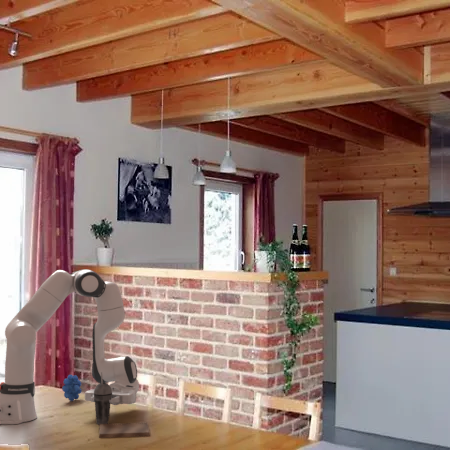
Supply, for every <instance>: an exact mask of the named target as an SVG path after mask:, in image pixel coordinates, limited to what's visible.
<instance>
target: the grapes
mask: <svg viewBox="0 0 450 450" xmlns="http://www.w3.org/2000/svg"><path fill="white" fill-rule="evenodd" d="M81 386H82V382H81V380H80V379H79V377H78V376H77V374H76V375H73V374H68V375H67V378H64V379H63V386H62V388H61V390H62V392H64V393H63V396H64V398H65V399H68V401H69V402H73V401H74V400H78V399H79V397H80V395H79V394H81V393H82V390H83V389H82V388H81Z"/></svg>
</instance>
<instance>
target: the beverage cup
mask: <svg viewBox="0 0 450 450" xmlns="http://www.w3.org/2000/svg"><path fill="white" fill-rule="evenodd" d="M109 385H110V384H108V383H103V378H102V372H101V383H98V384H97V385H96V386H95V388H94V389H95V390H94V399H95V402H94V408H95V411H94V412H95V422H96V425H98V426H100V424H109V419H110V411H111V404H110V403H109V399H110V398H111V397H112V389H111V387H110V386H109Z"/></svg>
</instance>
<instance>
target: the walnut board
mask: <svg viewBox="0 0 450 450" xmlns="http://www.w3.org/2000/svg"><path fill="white" fill-rule="evenodd" d="M98 429H99V432H98V433H99V434H98V435H99V436H98V438H122V437H123V438H124V437H125V438H126V437H127V438H128V437H129V438H130V437H149V436H150V429H149V424H148V422H126V423H125V422H124V423H123V422H122V423H121V422H120V423H119V422H118V423H108V424H100V425H99V428H98Z"/></svg>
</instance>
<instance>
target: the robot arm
mask: <svg viewBox="0 0 450 450" xmlns="http://www.w3.org/2000/svg"><path fill="white" fill-rule="evenodd" d="M72 293H75V294H77V295H79V296H82V297H86V298H93V299H94V301H95V303H96V310H97V318H96V322H95V323H94V324H93V326H92V340H91V341H92V342H91V343H92V366H91V377H92V379H93V380H94V381H95V382H97V383H98V384H100V383H101V372H102V378H103V383H106V384H108V383H110V384H108V385H109V386H110V387H111V389H112V397H111V398H110V399H109V403H110V405H114V406H118V405H122V404H124V405H126V404H127V405H131V404H135V403H136V402H137V393H138V391H139V389H140V382H139V380H138V379H137V378H138V369H137V368H138V367H137V365H136V362H135V361H134V360H133V358H132V357H130V356H129V355H128V356H119V357H113V358H106V356H105V339H106V337H107V335H108V334H109V333H111V332H112V331H115V330H116V329H117V328H119V327H120V326H121V325H122V324H123V323H124V321H125V317H126V311H125V307H124V305H125V304H124V301H123V297H122V294H121V290H120V288H119V286H118V284H117V283H116V282H113V281H104V280H103V278H102V277H101V275H99V274H98V272H95V271H93V270H91V269H87V268H86V269H79V270H76V271H73V272H72V273H69V272H68V271H65V270H63V269H57V270H56V271H54V272H53V273H52V274H50V275H49V277H47V279H45V280H44V282H42V284H41V285H40V287H39V288H38V289H37V290H36V291H35V293H34V294H33V295H32V296H31V297H30V299H29V300H28V301H27V303H26V304H25V305H24V306H23V307H22V308H21V309H20V310H18V312H17V313H16V314H15V315H14V317H13V318H12V319H11V320H10V322H9V323H8V324H7V326H6V327H5V330H4V336H5V338H6V350H5V360H4V361H5V363H4V364H5V365H4V382H3V381H2V382H0V425H18V424H21V423H26V422H30V421H33V420H35V419H37V418H38V416H37V411H36V410H37V409H36V406H35V405H36V404H35V394H36V385H35V381H34V378H35V376H34V375H35V373H34V372H35V358H36V356H35V355H36V346H37V345H36V343H37V342H36V341H37V332H38V331H39V330H40V329H41V328H42V327H43V326H44V325H45V324H46V323H47V322H48V321H49V320H50V319H51V318H52V316H53V315H55V313H56V311H58V309H59V308H60V306H61V305H62V304H63V302H64V301H65V299H66V298H68V296H69V295H71V294H72ZM112 382H113V383H112ZM94 390H95V388H91V389H88V390H86V391H85V392H84V401H87V402H91V403H95V399H94Z"/></svg>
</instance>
